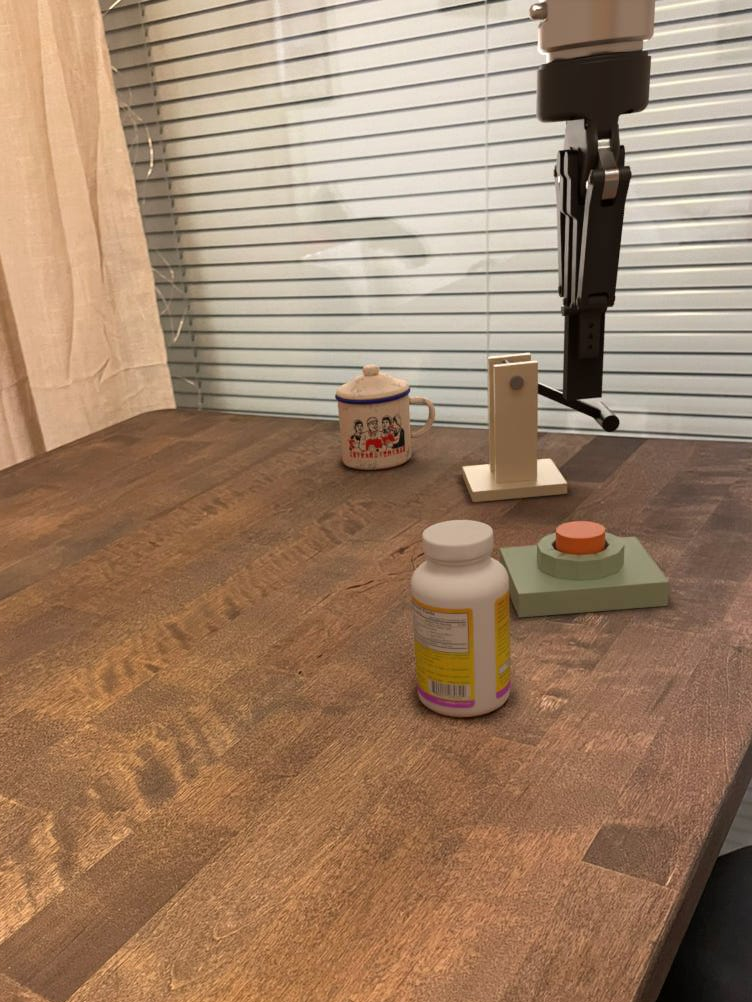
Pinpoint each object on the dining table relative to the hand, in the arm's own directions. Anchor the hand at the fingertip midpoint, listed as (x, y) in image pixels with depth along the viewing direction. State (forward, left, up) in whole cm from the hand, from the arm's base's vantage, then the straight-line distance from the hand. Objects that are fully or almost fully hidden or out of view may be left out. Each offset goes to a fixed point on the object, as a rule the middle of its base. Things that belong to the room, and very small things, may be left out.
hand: (582, 396), depth 79 cm
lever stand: (+1, -28, -17) cm, 33 cm away
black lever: (-3, -28, -8) cm, 29 cm away
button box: (0, 0, -17) cm, 17 cm away
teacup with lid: (+14, -42, -17) cm, 47 cm away
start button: (0, 0, -13) cm, 13 cm away
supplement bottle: (+12, +17, -17) cm, 27 cm away
